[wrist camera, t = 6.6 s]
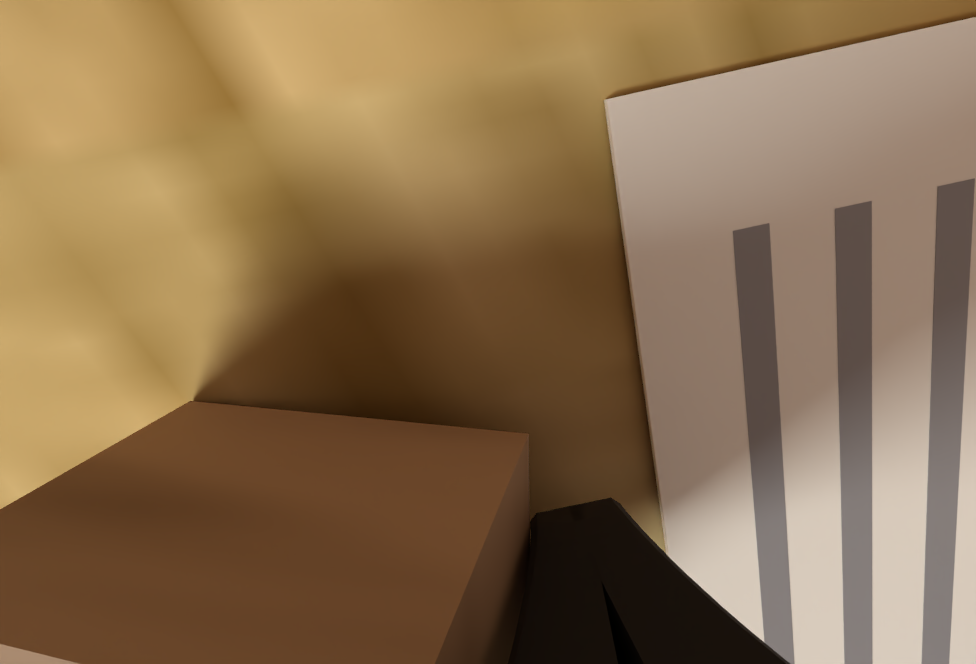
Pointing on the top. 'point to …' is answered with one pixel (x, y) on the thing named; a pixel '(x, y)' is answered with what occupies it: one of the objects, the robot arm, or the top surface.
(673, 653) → the robot arm
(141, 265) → the top surface
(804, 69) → the letter
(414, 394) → the top surface
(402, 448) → the walnut block
